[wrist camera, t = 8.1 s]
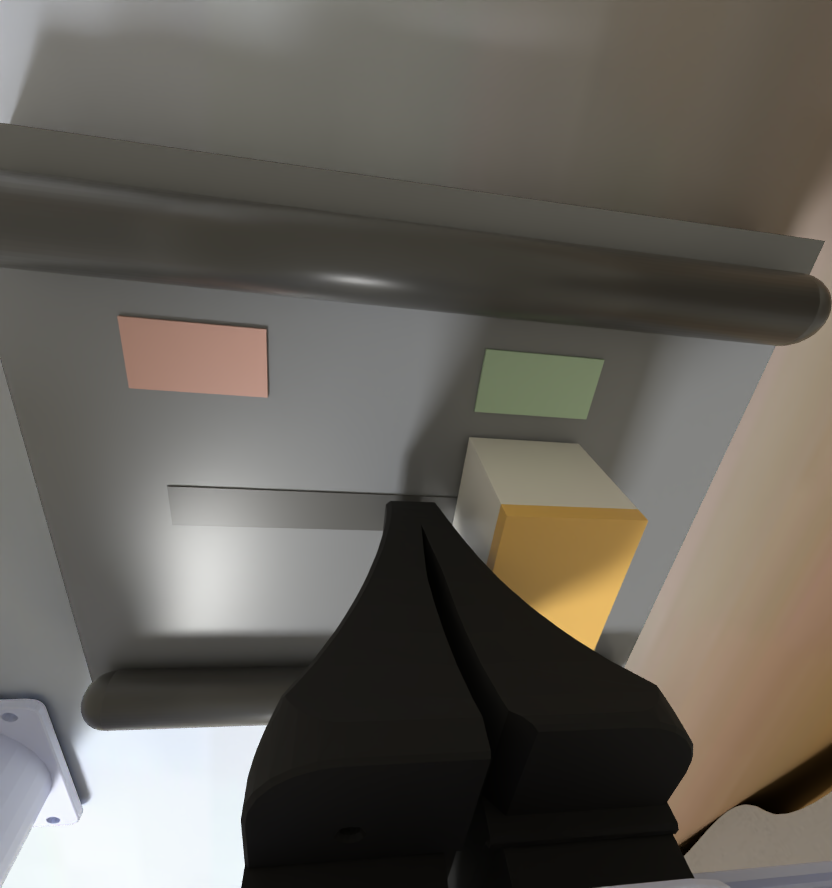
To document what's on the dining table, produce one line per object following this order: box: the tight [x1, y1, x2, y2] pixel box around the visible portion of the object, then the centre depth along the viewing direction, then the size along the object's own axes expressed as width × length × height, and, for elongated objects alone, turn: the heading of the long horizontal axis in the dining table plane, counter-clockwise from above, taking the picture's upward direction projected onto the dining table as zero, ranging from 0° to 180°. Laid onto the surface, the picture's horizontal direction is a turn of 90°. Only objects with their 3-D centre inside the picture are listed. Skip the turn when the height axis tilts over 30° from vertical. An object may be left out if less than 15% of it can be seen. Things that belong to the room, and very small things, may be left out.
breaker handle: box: [453, 437, 648, 650], centre depth 12 cm, size 3×5×3 cm, turn 173°
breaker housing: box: [0, 123, 832, 731], centre depth 13 cm, size 18×16×4 cm
